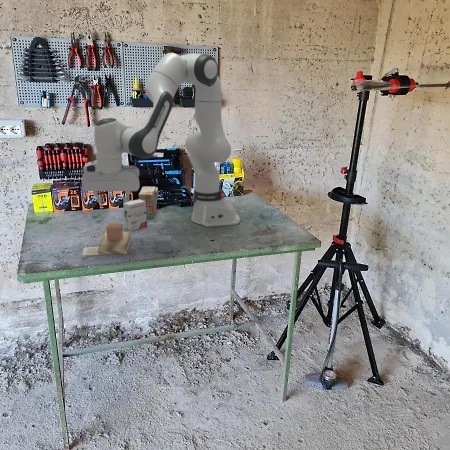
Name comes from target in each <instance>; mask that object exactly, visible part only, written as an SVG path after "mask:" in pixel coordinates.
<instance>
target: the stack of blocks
mask: <svg viewBox="0 0 450 450" xmlns="http://www.w3.org/2000/svg"><path fill="white" fill-rule="evenodd" d="M158 197H159V188H158V186H157V187H156V186H142V187H141V190H140V192H139V193H138V199H140V200H143V201H145V202H146V216H147V220H154V219H155V217H156V213H157V210H158V208H157V205H156V204H157V200H158Z"/></svg>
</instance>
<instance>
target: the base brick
mask: <svg viewBox="0 0 450 450" xmlns="http://www.w3.org/2000/svg"><path fill="white" fill-rule="evenodd" d="M131 232H132V231H123V236H122V239H121V241H113V240H107V231H104V233H103V234H102V237H101V239H100V240H99V242H98V247H99V254H100V255H127V254H128V251H129V248H130V246H131V245H130V244H131V242H132V237H131V236H132V235H131Z"/></svg>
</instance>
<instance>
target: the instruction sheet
mask: <svg viewBox="0 0 450 450" xmlns="http://www.w3.org/2000/svg"><path fill="white" fill-rule="evenodd" d="M97 255H101V254H99V246H90V247H89V246H88V247H87V246H86V247H83V251H82V255H81V256H83V257H84V256H97Z"/></svg>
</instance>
